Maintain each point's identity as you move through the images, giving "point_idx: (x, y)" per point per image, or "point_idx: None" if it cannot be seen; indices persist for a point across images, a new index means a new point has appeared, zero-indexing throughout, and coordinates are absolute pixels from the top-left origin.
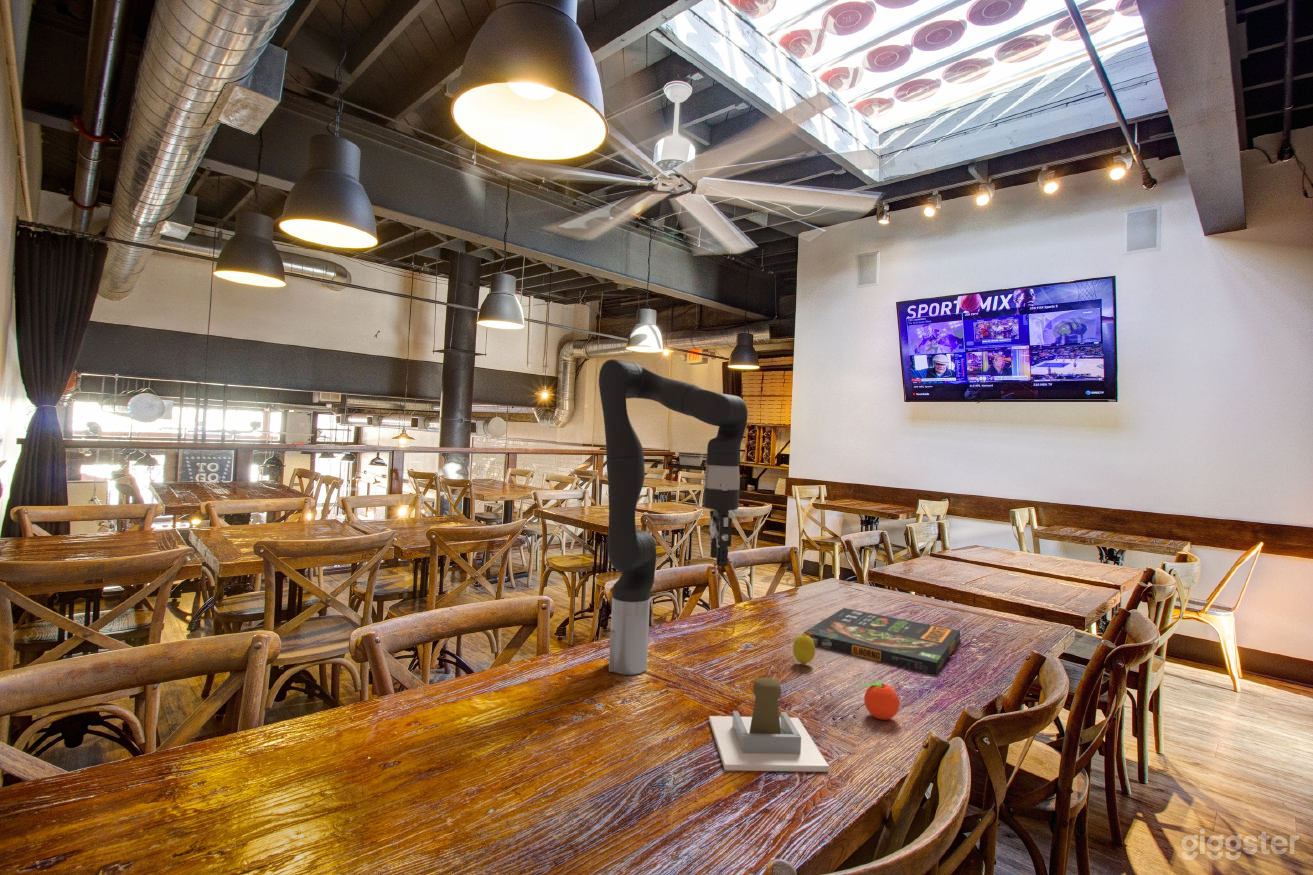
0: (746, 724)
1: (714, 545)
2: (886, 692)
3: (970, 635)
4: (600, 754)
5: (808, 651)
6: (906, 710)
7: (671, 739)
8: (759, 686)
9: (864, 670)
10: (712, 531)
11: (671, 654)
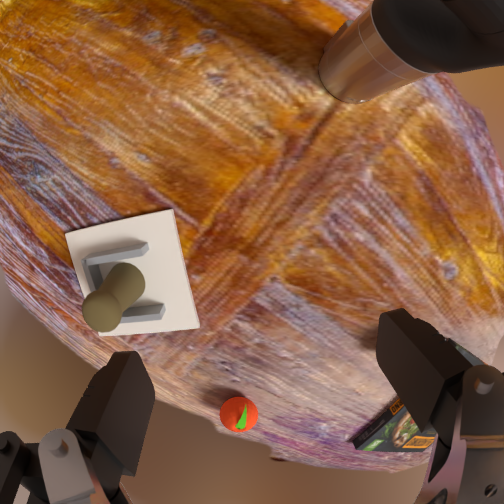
0: (159, 261)
1: (420, 377)
2: (227, 426)
3: (426, 448)
4: (73, 93)
5: None
6: (262, 420)
7: (112, 162)
8: (84, 303)
9: (367, 397)
10: (449, 480)
11: (416, 149)
